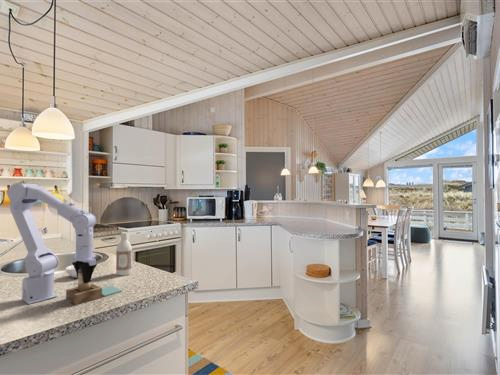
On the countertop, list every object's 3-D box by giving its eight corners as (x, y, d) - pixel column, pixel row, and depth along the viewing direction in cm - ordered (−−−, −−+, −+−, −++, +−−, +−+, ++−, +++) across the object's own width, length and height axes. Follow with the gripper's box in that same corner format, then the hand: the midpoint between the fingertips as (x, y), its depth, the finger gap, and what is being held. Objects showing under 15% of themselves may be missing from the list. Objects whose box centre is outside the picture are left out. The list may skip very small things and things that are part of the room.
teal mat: (104, 296, 110) (104, 295, 110) (93, 291, 115) (93, 290, 115) (122, 291, 115) (122, 290, 115) (111, 286, 121) (111, 285, 121)
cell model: (62, 277, 134) (62, 262, 134) (89, 271, 143) (89, 258, 143) (69, 281, 127) (69, 266, 127) (98, 275, 136) (98, 261, 136)
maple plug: (80, 295, 106) (80, 271, 106) (76, 293, 108) (76, 269, 108) (92, 292, 109) (92, 269, 109) (87, 290, 111) (87, 267, 111)
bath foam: (114, 276, 135) (114, 233, 135) (117, 272, 142) (118, 231, 142) (130, 275, 137) (130, 233, 137) (132, 271, 144) (133, 231, 144)
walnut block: (76, 305, 102) (76, 295, 102) (66, 298, 108) (66, 289, 108) (101, 297, 109) (102, 288, 109) (91, 292, 115) (91, 283, 115)
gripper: (104, 246, 107) (104, 282, 107) (87, 241, 116) (87, 275, 116) (84, 249, 102) (83, 287, 101) (67, 244, 110) (67, 279, 110)
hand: (84, 281), depth 108 cm, fingers closed on maple plug, 4 cm apart
